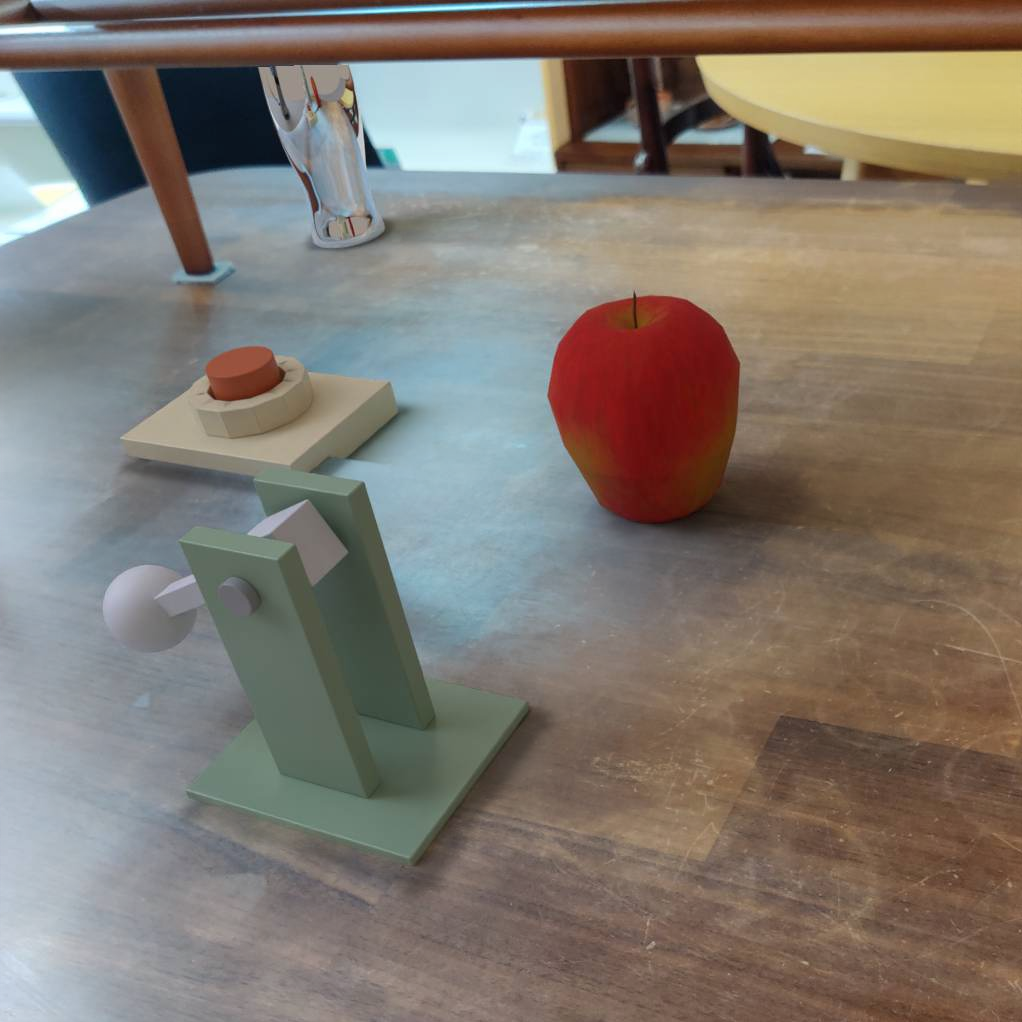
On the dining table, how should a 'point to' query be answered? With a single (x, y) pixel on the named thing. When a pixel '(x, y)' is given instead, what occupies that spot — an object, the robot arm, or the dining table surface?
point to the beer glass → (325, 149)
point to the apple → (647, 404)
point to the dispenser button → (243, 373)
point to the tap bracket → (336, 685)
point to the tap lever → (174, 600)
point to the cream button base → (266, 423)
